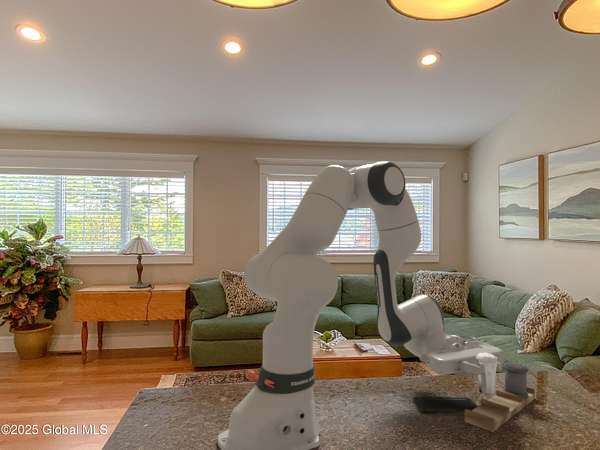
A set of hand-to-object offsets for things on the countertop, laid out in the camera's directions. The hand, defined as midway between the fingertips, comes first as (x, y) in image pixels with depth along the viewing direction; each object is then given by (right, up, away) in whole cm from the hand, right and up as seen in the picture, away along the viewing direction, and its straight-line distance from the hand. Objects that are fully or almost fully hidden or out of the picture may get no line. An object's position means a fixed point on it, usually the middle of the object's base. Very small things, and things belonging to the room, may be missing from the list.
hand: (490, 369), depth 95 cm
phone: (-8, -13, +8) cm, 17 cm away
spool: (+12, -11, +12) cm, 20 cm away
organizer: (+6, -12, +6) cm, 15 cm away
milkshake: (0, -6, +1) cm, 6 cm away
